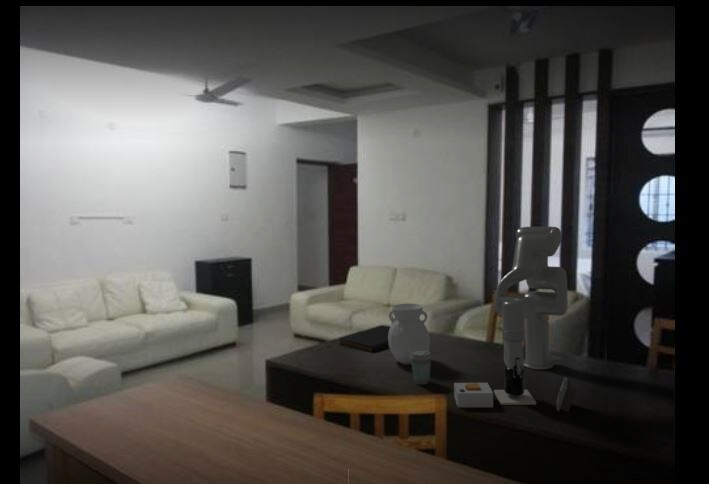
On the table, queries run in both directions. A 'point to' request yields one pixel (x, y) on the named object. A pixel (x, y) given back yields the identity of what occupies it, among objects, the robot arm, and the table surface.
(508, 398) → the pad
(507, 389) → the supplement bottle
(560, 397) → the electrical switch
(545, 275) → the robot arm
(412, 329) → the grey vase
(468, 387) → the button
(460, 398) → the box
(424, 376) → the coffee cup
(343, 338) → the file folder
